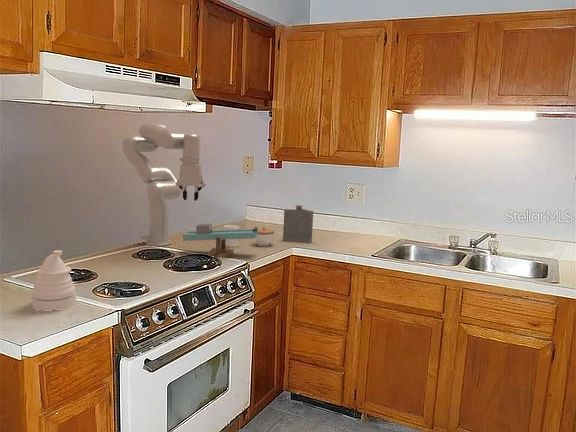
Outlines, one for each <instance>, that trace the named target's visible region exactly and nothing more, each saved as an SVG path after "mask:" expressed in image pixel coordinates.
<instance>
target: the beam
mask: <svg viewBox="0 0 576 432" xmlns="http://www.w3.org/2000/svg"><path fill="white" fill-rule="evenodd" d="M258 229H259V228H258V226H254V228H251V229H250V228H245V229H242V228H241V229H239V230H224V229H218V230H215V229H214V230H212V233H211V234H197V231H196V230H194V231H193V230H191V231H190V230H189V231H187V233H186V234H183V235H182V241H183V242H187V241H189V242H190V241H191V242H192V241H216V237H220V238H221V241H222V240H223V239H238V240H243V239H245V240H247V239H250V240H251V239H254V238H256V237H257V235H258Z"/></svg>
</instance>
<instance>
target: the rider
mask: <svg viewBox="0 0 576 432" xmlns="http://www.w3.org/2000/svg"><path fill="white" fill-rule="evenodd" d="M195 228H196V230H195V231H197V234H211V233H212V231H213V224H212V223H199V224H197V225H196V226H195Z"/></svg>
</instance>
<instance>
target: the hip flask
mask: <svg viewBox="0 0 576 432" xmlns="http://www.w3.org/2000/svg"><path fill="white" fill-rule="evenodd" d="M313 223H314V210H308V209H306V208H303V205H302V204H301V205H299V204H296V205H295V208H284V210H283V229H282V230H283V233H282V242H292V243H301V244H302V243H303V244H312V241H313Z"/></svg>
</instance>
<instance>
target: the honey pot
mask: <svg viewBox="0 0 576 432" xmlns="http://www.w3.org/2000/svg"><path fill="white" fill-rule="evenodd" d="M52 252H53V254H50V255H47V257H46V258H45V259H44V261H43V262H42V263H41V264H42V265H41V267H40V268H38V269H37V270H36V273H37V276H36V279H35V280H34V284H33V287H32V290H31V307H32V306H33V307H34V308H36V309H39V310H56V309H63V308H68V307H71V306H73V305H74V304H75V303H77V299H76V298H77V295H76V289H77V287H76V286H75V285H74V281H73V278H72V277H71V275H70V272H71V271H72V268H71V267H70V266H68V265H65V262H64V260H63V259H61V256H62V254H63V250H61V249H60V250H57V249H56V250H53V251H52ZM75 305H76V304H75ZM75 305H74V306H75ZM74 306H73V307H74ZM33 307H32V308H33ZM71 308H72V307H71ZM68 309H69V308H68Z"/></svg>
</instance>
